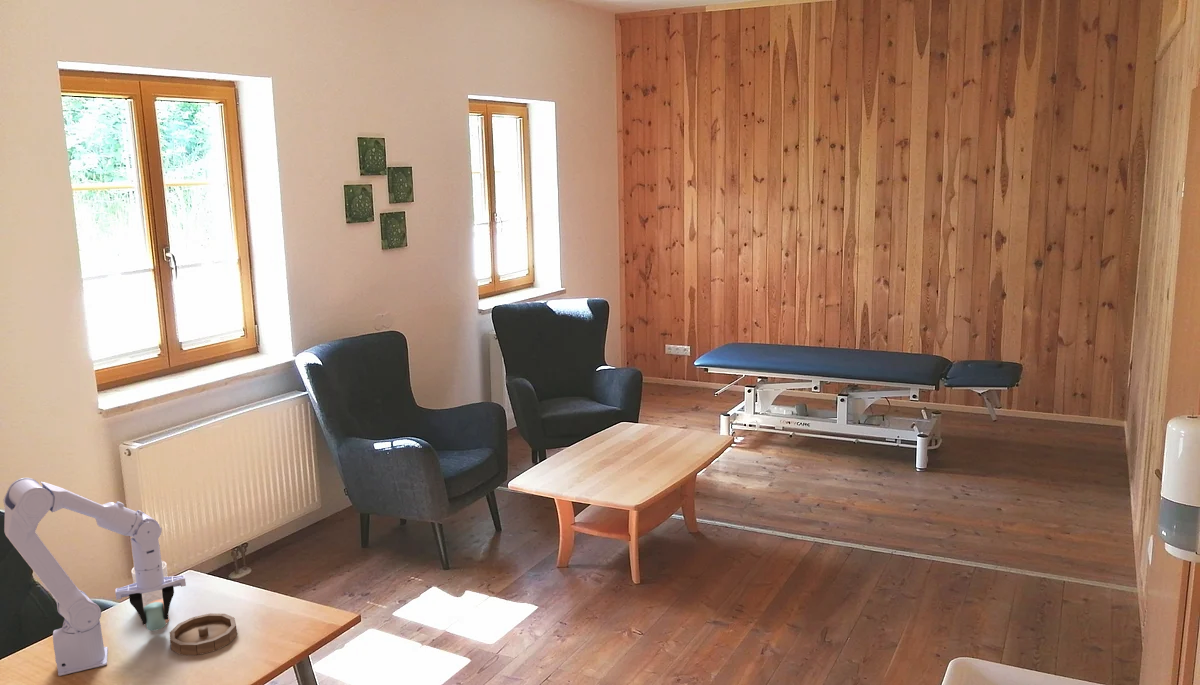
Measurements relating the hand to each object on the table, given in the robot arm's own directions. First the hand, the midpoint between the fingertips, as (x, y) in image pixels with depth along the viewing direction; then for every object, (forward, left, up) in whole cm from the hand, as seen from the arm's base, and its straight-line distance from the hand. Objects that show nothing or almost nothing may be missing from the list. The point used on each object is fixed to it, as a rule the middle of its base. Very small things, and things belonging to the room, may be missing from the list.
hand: (155, 620), depth 222 cm
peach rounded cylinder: (+1, +7, -4) cm, 8 cm away
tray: (+10, -7, -4) cm, 12 cm away
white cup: (0, +17, -4) cm, 18 cm away
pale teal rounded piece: (0, 0, -2) cm, 2 cm away
